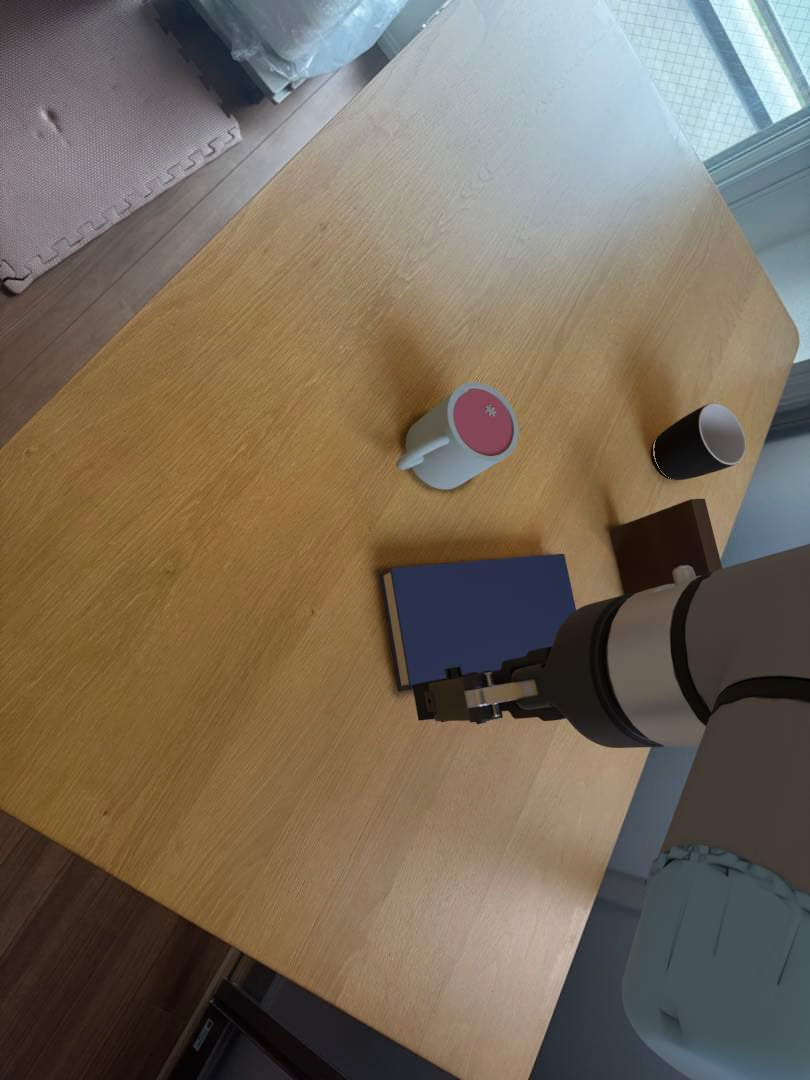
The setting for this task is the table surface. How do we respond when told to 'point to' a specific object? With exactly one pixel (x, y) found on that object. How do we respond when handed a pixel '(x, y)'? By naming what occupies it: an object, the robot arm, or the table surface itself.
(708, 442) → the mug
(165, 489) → the table surface
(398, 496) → the table surface
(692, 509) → the dark brown flat block
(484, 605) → the book
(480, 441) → the mug
